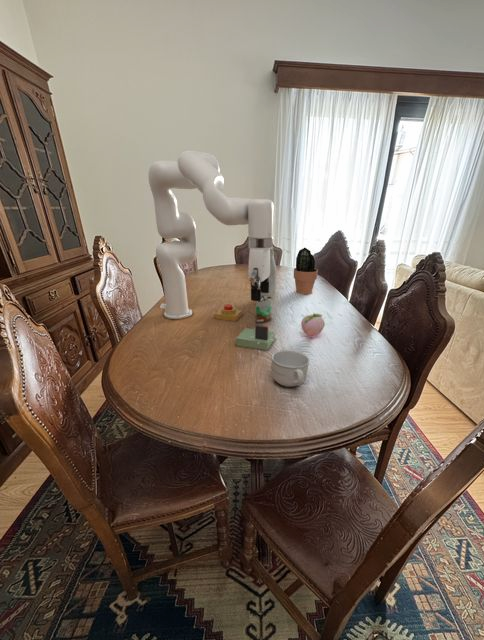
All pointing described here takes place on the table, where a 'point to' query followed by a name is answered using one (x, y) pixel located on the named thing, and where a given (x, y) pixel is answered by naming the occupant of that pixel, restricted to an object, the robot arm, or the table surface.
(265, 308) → the food container
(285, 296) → the table surface
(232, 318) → the button block
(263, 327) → the black rectangular slab
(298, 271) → the potted plant
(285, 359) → the teacup
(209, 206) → the robot arm
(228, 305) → the button
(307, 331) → the decorative fruit
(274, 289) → the glass bottle
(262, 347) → the panel
